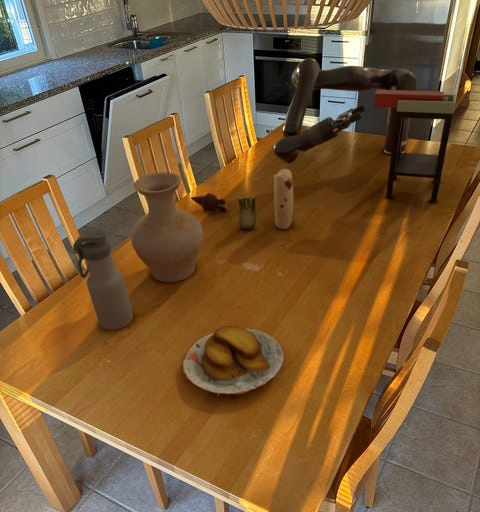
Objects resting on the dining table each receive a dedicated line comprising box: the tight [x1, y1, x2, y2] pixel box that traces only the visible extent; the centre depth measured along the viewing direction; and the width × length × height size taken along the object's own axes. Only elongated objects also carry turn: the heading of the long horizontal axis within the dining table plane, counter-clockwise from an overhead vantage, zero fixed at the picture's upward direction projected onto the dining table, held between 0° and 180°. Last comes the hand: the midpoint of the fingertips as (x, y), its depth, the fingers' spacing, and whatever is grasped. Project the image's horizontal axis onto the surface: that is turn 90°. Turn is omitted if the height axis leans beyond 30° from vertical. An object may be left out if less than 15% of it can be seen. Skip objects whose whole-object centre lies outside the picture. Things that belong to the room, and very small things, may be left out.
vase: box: [130, 171, 204, 283], centre depth 155 cm, size 22×22×30 cm
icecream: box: [190, 192, 228, 213], centre depth 193 cm, size 7×7×15 cm
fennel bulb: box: [237, 196, 258, 230], centre depth 178 cm, size 6×5×12 cm
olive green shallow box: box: [397, 93, 457, 115], centre depth 172 cm, size 9×18×4 cm, turn 70°
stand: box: [385, 111, 454, 204], centre depth 187 cm, size 19×18×32 cm
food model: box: [273, 168, 294, 230], centre depth 176 cm, size 10×7×20 cm
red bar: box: [373, 89, 448, 108], centre depth 173 cm, size 4×24×4 cm, turn 70°
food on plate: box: [182, 325, 286, 397], centre depth 126 cm, size 25×25×7 cm
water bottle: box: [72, 230, 134, 331], centre depth 137 cm, size 10×10×28 cm
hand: (362, 111), depth 180 cm, fingers open, 8 cm apart
